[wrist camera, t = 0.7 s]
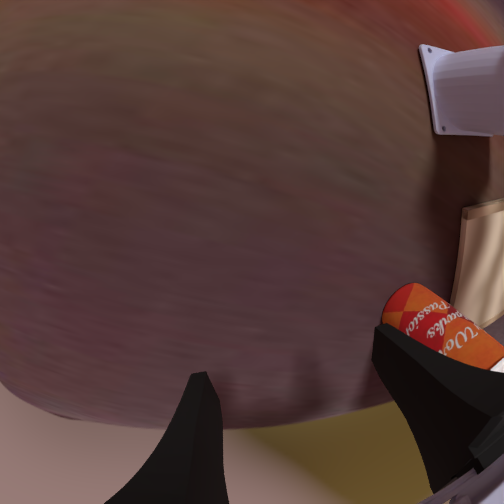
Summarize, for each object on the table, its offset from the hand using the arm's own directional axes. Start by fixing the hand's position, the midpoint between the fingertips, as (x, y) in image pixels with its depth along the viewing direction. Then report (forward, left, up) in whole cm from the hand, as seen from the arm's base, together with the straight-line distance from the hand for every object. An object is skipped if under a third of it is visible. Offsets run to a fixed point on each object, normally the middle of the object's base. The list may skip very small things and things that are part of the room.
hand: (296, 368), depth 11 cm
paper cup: (-13, +8, -11) cm, 19 cm away
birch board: (-28, +8, -10) cm, 31 cm away
